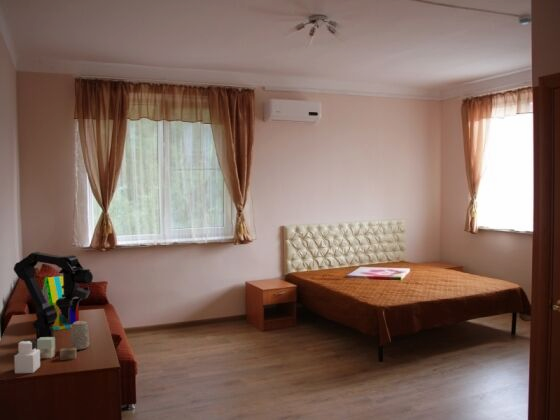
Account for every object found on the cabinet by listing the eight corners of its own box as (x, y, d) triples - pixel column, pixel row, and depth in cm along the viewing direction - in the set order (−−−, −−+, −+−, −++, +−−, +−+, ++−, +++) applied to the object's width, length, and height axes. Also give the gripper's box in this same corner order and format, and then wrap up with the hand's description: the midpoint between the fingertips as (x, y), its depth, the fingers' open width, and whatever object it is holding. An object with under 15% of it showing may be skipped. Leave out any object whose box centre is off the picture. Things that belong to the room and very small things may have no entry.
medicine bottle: (22, 367, 203) (21, 337, 202) (40, 366, 203) (39, 337, 202) (14, 373, 195) (13, 343, 195) (33, 373, 196) (32, 343, 195)
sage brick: (37, 349, 212) (37, 339, 212) (41, 346, 216) (40, 337, 216) (51, 349, 212) (51, 339, 212) (55, 346, 216) (54, 337, 216)
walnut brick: (60, 360, 210) (59, 351, 210) (61, 357, 214) (61, 348, 213) (75, 359, 212) (75, 350, 212) (76, 356, 215) (76, 347, 215)
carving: (71, 347, 226) (70, 321, 225) (89, 345, 229) (88, 319, 228) (71, 351, 220) (70, 324, 220) (89, 349, 223) (89, 323, 223)
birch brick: (37, 358, 213) (37, 349, 212) (41, 355, 216) (41, 346, 216) (51, 358, 213) (51, 349, 212) (55, 355, 216) (55, 346, 216)
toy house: (79, 326, 258) (77, 278, 256) (50, 331, 250) (49, 281, 249) (69, 316, 278) (68, 271, 276) (42, 319, 270) (41, 273, 269)
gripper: (80, 287, 224) (81, 321, 225) (94, 278, 242) (94, 310, 243) (54, 287, 223) (55, 321, 224) (70, 279, 242) (71, 310, 243)
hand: (70, 316), depth 234 cm, fingers open, 9 cm apart
